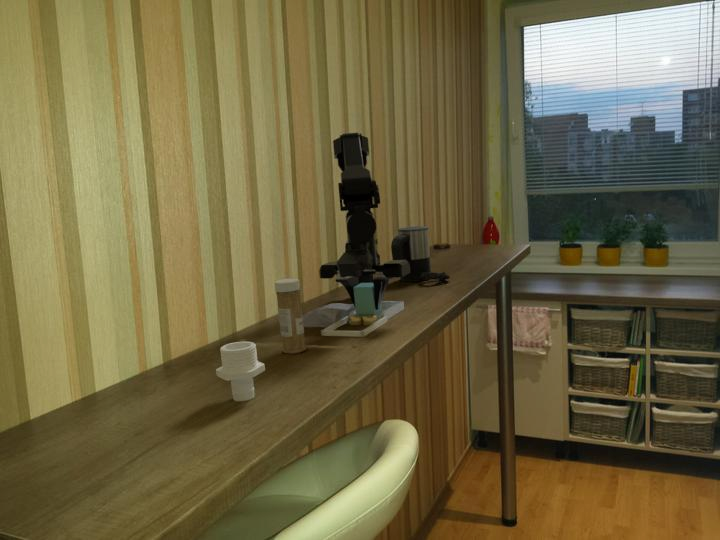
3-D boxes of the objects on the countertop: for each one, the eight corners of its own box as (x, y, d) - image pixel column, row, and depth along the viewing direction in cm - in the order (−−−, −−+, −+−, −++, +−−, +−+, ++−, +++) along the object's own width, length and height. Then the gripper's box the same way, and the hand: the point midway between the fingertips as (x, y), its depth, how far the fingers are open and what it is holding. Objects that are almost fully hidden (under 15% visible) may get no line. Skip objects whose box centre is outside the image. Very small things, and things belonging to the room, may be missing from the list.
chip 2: (364, 322, 137) (364, 314, 137) (378, 322, 137) (378, 313, 136) (361, 326, 135) (360, 317, 134) (375, 325, 134) (375, 317, 134)
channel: (371, 309, 151) (370, 301, 150) (404, 310, 147) (403, 301, 147) (349, 322, 140) (348, 313, 140) (384, 323, 137) (383, 313, 136)
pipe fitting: (234, 409, 93) (228, 355, 92) (214, 397, 99) (208, 346, 98) (274, 397, 97) (268, 345, 95) (252, 386, 102) (246, 337, 101)
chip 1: (352, 322, 139) (351, 314, 139) (365, 322, 138) (365, 314, 137) (347, 325, 136) (346, 317, 136) (360, 325, 135) (359, 317, 135)
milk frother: (406, 276, 193) (402, 226, 191) (458, 275, 187) (455, 223, 184) (390, 286, 180) (385, 232, 178) (445, 285, 174) (442, 229, 172)
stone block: (297, 338, 138) (338, 329, 134) (291, 316, 138) (332, 307, 134) (322, 326, 149) (360, 318, 145) (316, 306, 149) (355, 297, 145)
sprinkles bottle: (310, 350, 120) (303, 279, 118) (287, 356, 118) (279, 283, 116) (300, 346, 124) (293, 276, 122) (278, 350, 122) (270, 280, 120)
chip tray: (347, 322, 140) (347, 316, 140) (387, 323, 137) (386, 316, 136) (321, 337, 129) (320, 330, 129) (363, 339, 125) (363, 331, 125)
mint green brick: (356, 319, 138) (353, 287, 137) (364, 314, 142) (361, 282, 141) (375, 319, 137) (371, 287, 135) (382, 314, 140) (379, 282, 139)
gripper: (303, 243, 133) (310, 317, 135) (388, 239, 125) (395, 319, 127) (327, 236, 143) (334, 306, 145) (408, 232, 135) (413, 306, 137)
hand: (367, 309), depth 138 cm, fingers closed on mint green brick, 4 cm apart
